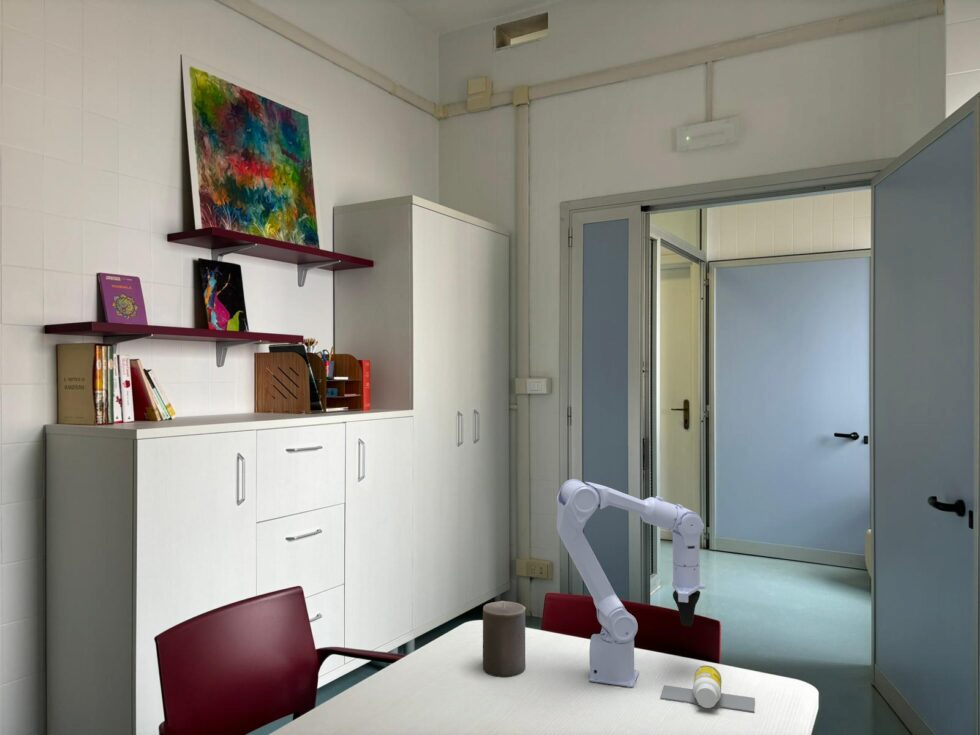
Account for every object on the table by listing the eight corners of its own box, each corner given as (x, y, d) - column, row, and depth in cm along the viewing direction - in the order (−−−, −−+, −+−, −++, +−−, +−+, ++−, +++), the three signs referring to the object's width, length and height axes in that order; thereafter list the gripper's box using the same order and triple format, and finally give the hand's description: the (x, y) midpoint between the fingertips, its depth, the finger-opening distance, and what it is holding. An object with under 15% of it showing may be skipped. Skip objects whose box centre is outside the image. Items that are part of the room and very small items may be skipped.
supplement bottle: (724, 689, 149) (723, 711, 140) (697, 690, 151) (694, 712, 141) (718, 663, 149) (717, 683, 140) (692, 664, 151) (689, 685, 142)
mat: (660, 698, 147) (660, 697, 147) (663, 686, 152) (663, 685, 152) (754, 712, 141) (754, 711, 141) (754, 699, 146) (754, 697, 146)
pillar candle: (488, 679, 157) (488, 610, 157) (478, 661, 167) (478, 596, 167) (531, 675, 159) (530, 607, 159) (519, 657, 169) (519, 593, 169)
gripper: (702, 574, 151) (703, 638, 151) (707, 556, 165) (708, 615, 165) (667, 571, 154) (668, 634, 154) (675, 554, 167) (676, 612, 167)
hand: (687, 624), depth 159 cm, fingers closed
